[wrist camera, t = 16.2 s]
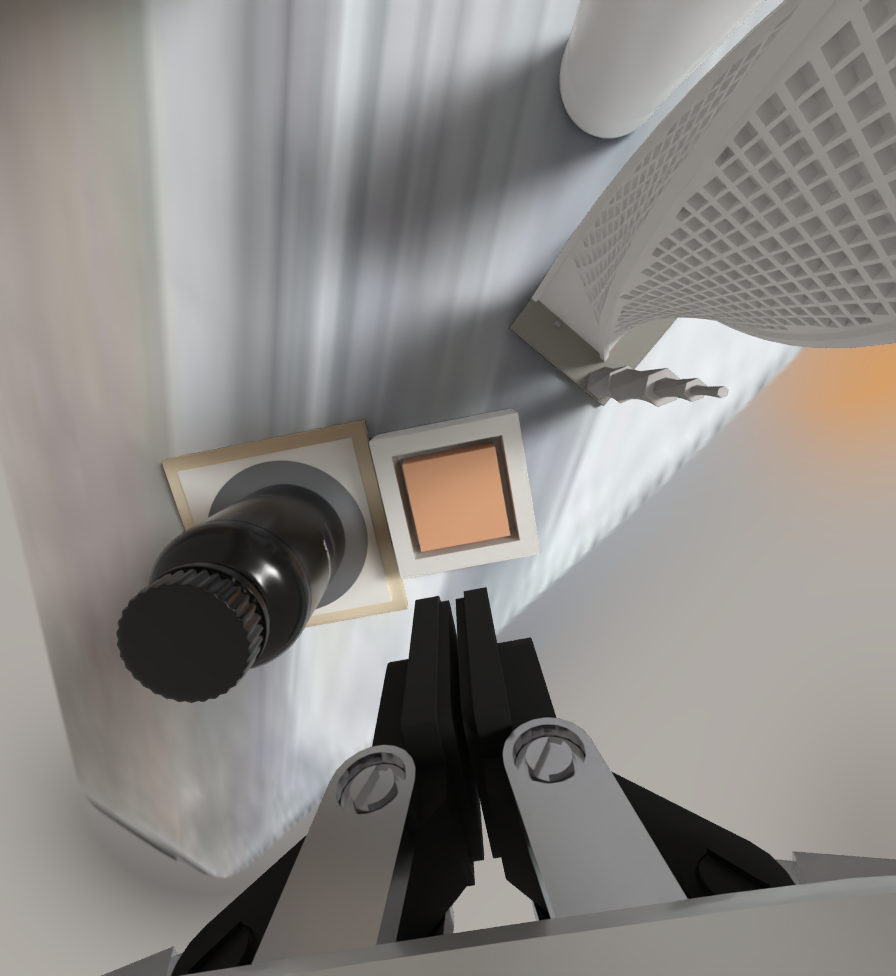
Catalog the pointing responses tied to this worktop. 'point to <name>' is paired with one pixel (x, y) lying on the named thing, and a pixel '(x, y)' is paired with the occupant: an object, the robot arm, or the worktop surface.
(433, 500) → the button
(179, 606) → the supplement bottle
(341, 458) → the cream square coaster
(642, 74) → the drinking glass
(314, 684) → the worktop surface
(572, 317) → the skyscraper
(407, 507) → the button housing
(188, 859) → the worktop surface
